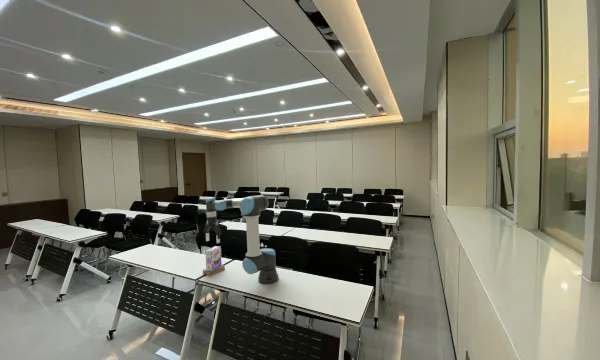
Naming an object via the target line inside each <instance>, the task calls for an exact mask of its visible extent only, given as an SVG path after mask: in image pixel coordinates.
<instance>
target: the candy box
mask: <svg viewBox="0 0 600 360" xmlns="http://www.w3.org/2000/svg"><path fill="white" fill-rule="evenodd" d="M221 247H222V246H220V245H219V246H217V245H215V246H213V247H211V248H209V249H207V250H205V269H206V271H213V270H215V269H216V268H218V267H219V266H221V265H223V264H222V263H223V262H222V248H221Z"/></svg>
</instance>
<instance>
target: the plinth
mask: <svg viewBox="0 0 600 360" xmlns="http://www.w3.org/2000/svg"><path fill="white" fill-rule="evenodd" d="M224 270H226V266H225V265H224V264H222V265H221V266H219V267H218V268H216V269H215V270H213V271H206V268H204V269H202V274H203V273H204V274H203V275H206V276H208V277H211V276H213V275H215V274H217V273H220V272H222V271H224Z"/></svg>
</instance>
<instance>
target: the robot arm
mask: <svg viewBox="0 0 600 360" xmlns="http://www.w3.org/2000/svg"><path fill="white" fill-rule="evenodd" d="M269 204H270V203H269V199H268V197H266V196H265V195H261V194H260V195H258V194H257V195H251V196H250V195H249V196H246V197H242V198H228V199H227V198H226V199H221V200H217V199H216V197H207V198H205V207H206V210H205V211H206V222H205V224H204V229H203V233H205V242H209V241H210V230H211V229H213V231H214V232H215V234H216V235H215V236H216V238H215V239H216V244H219V243H221V235H222V230H221V228H220V224H219V222H216V221H217V218H218V217H217V211H224V210H226V209H235V208H239V210H240V213H241V214H242V215H243V217H244V218H245V224H246V225H245V226H246V227H245V228H246V245H247V246H246V248H247V252H246V253H245V258H244V259H243V260H242V264H241V265H242V269H243V270H244V272H245V273H247V274H248V275H253V274H257V273H258V272H259V273H258V277H257V279H258V282H259V283H260V284H266V285H269V284H273V283H276V282H278V281H279V273H278V271H277V268H276V266H277V265H276V263H277V261H276V250H275V249H273V248H260V247H261V246H260V245H261V244H260V226H259V224H260V223H259V217H260V216H261V212H262V211H265V210H266V209H267V208H268V206H269Z"/></svg>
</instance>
